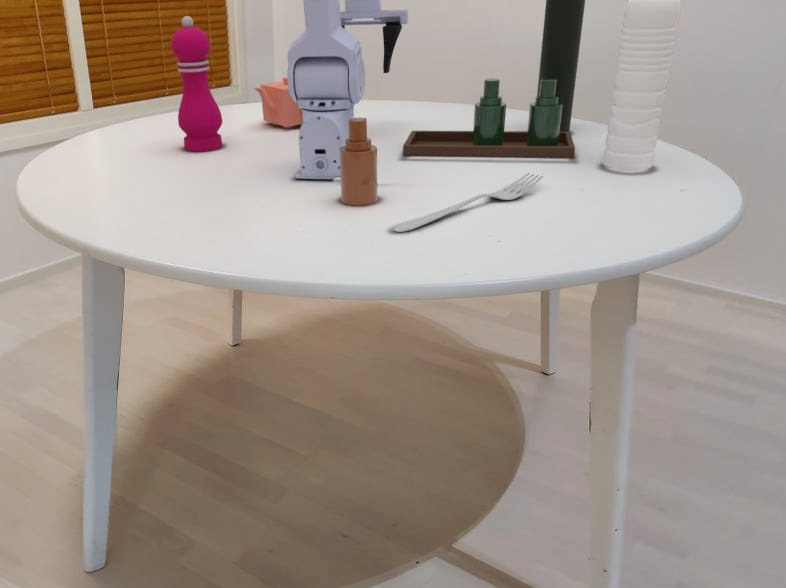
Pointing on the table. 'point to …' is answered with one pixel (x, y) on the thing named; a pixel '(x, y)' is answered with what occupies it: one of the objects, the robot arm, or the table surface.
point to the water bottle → (640, 83)
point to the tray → (463, 145)
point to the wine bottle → (562, 51)
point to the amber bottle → (358, 166)
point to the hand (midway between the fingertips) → (363, 72)
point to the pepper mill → (196, 90)
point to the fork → (500, 195)
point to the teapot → (279, 105)
